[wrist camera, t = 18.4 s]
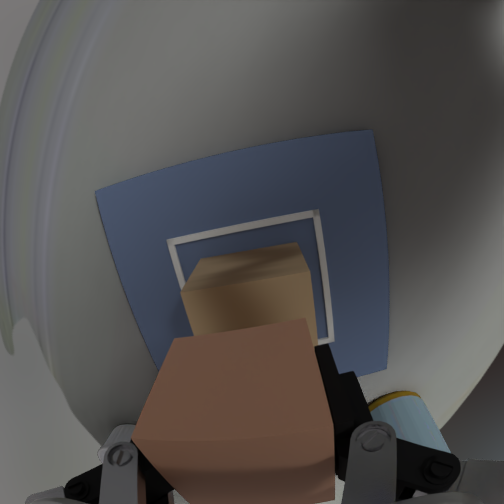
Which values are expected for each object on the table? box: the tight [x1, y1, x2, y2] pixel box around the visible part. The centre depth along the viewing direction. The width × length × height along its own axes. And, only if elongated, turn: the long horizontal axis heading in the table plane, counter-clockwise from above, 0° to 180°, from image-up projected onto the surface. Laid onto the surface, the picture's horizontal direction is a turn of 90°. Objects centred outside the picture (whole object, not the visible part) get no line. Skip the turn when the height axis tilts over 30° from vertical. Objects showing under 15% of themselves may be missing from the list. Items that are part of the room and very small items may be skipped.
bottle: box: [368, 391, 451, 453], centre depth 16 cm, size 7×7×15 cm
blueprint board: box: [95, 129, 389, 377], centre depth 19 cm, size 18×18×1 cm
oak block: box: [180, 242, 318, 350], centre depth 16 cm, size 6×6×5 cm
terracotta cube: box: [131, 318, 335, 504], centre depth 9 cm, size 5×5×5 cm
